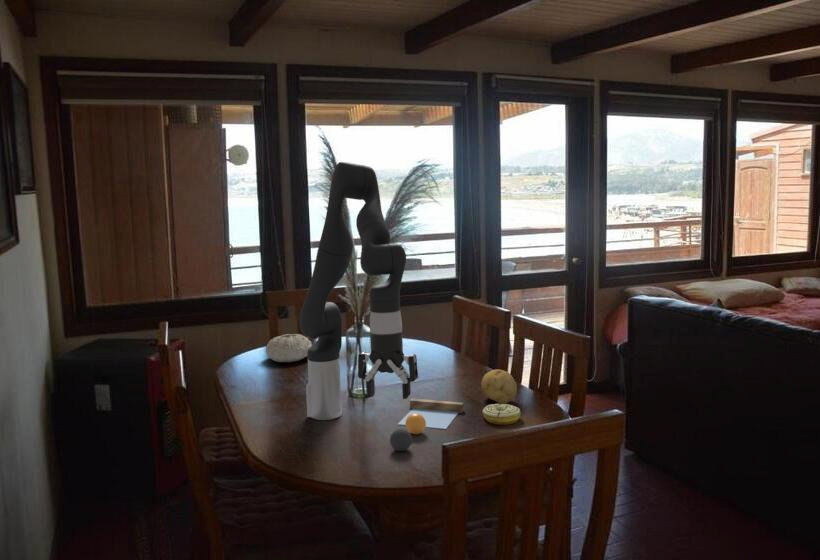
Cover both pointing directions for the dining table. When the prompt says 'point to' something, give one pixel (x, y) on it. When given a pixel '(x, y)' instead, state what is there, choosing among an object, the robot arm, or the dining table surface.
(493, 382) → the potato
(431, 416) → the light blue square plate
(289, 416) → the dining table surface
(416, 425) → the orange ball
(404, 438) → the dark gray ball
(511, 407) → the decorated donut
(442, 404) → the oak rail
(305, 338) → the decorative shell
